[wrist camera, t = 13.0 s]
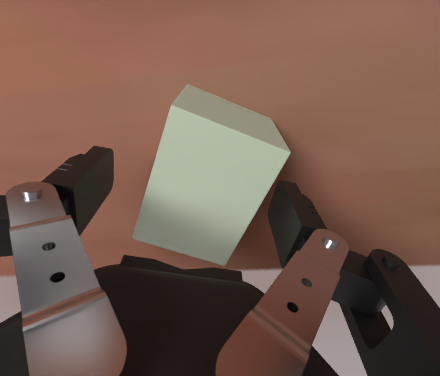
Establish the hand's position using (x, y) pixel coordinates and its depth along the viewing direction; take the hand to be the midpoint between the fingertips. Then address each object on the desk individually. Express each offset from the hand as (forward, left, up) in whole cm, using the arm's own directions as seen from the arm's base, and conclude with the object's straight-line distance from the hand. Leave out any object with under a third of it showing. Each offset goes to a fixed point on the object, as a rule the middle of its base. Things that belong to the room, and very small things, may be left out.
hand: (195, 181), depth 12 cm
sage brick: (0, 0, -4) cm, 4 cm away
